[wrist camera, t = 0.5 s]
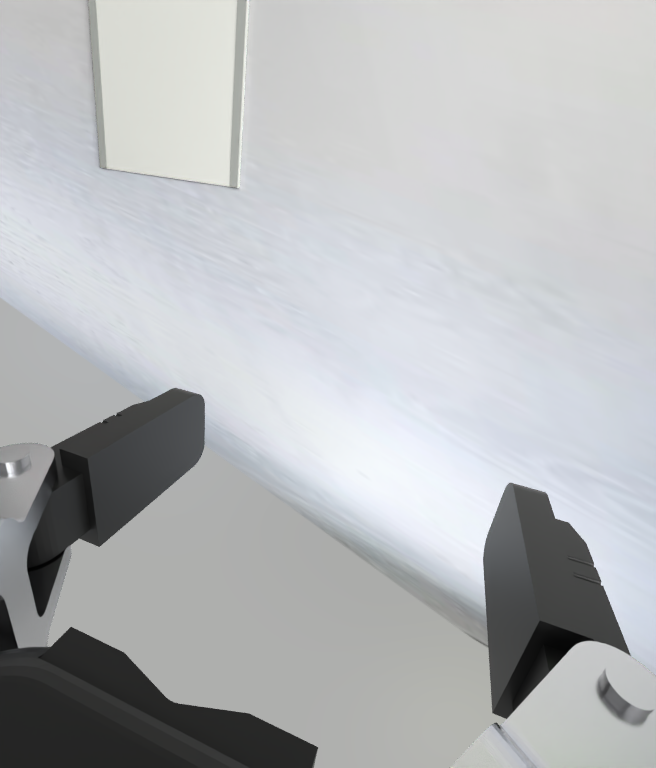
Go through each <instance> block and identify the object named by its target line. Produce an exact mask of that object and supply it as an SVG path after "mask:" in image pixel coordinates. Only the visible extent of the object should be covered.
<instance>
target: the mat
mask: <svg viewBox="0 0 656 768" xmlns="http://www.w3.org/2000/svg"><path fill="white" fill-rule="evenodd" d="M88 7H89V21H90V35H91V49H92V63H93V77H94V91H95V105H96V119H97V133H98V147H99V160H100V168H105V169H112V170H119V171H126V172H132V173H139V174H146V175H153V176H160V177H166V178H173V179H180V180H187V181H193V182H200V183H207V184H214V185H221V186H227V187H234V188H240V172H241V152H242V133H243V114H244V94H245V75H246V56H247V37H248V17H249V0H88Z"/></svg>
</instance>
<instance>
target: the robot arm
mask: <svg viewBox="0 0 656 768" xmlns="http://www.w3.org/2000/svg"><path fill="white" fill-rule="evenodd" d="M204 432H205V403H204V399H203V397H202V396H201V395H199V394H196V393H192V392H189V391H185V390H182V389H178V388H173V389H171V390H169V391H167V392H165V393H163V394H161V395H159V396H158V397H156V398H154V399H152V400H150V401H146V402H143V403H139V404H135V405H132V406H130V407H128V408H126V409H124V410H123V411H121V412H119V413H117V415H116V416H115V415H113V416H111V417H109V418H107V419H105V420H104V421H103V422H102V423H101V422H99V423H97V424H95V425H93V426H92V427H89V428H87V429H86V430H84V431H82V432H80V433H78V434H76V435H74V436H72V437H70V438H68V439H66V440H64V441H62V442H60V443H59V444H57V445H55V446H53V447H51V448H50V447H48V446H46V445H43V444H38V443H20V444H13V445H8V446H3V447H0V768H313V767H314V763H315V758H316V754H317V749H318V747H316V746H314V745H312V744H310V743H308V742H306V741H304V740H302V739H300V738H298V737H296V736H294V735H292V734H290V733H288V732H285V731H284V730H282V729H279V728H277V727H275V726H273V725H271V724H269V723H267V722H265V721H263V720H261V719H259V718H257V717H255V716H253V715H251V714H248V713H241V712H234V711H227V710H219V709H213V708H205V707H197V706H191V705H184V704H178V703H174V702H172V701H170V700H168V699H167V698H166V697H165V696H164V695H163V694H162V693H161V692H160V691H159V690H158V688H157V687H156V686H155V685H154V684H153V683H152V682H151V681H150V680H149V679H148V678H147V677H146V676H145V675H144V674H143V672H142V671H141V670H140V669H139V668H138V667H137V666H136V665H135V664H134V663H133V662H132V661H131V660H130V659H129V657H128V656H127V655H126V654H125V653H124V652H122V651H120V650H117V649H115V648H113V647H111V646H109V645H107V644H105V643H103V642H101V641H99V640H97V639H95V638H93V637H91V636H89V635H87V634H85V633H83V632H81V631H78V630H76V629H74V628H72V627H70V628H69V629H68V631H66V633H64V634H63V636H61V638H59V639H58V640H57V641H56V642H55V643H54V644H53V646H51V647H47V642H48V641H47V640H48V635H49V630H50V626H51V623H52V619H53V616H54V613H55V609H56V606H57V602H58V599H59V596H60V592H61V589H62V585H63V582H64V579H65V576H66V572H67V569H68V565H69V562H70V559H71V546H70V545H71V544H72V543H74V542H75V541H76V540H78V539H79V538H80V539H82V540H84V541H87V542H89V543H92V544H94V545H96V546H99V547H100V546H101V545H102V544H103V543H104V542H106V541H107V540H108V539H109V538H110V537H111V536H113V535H114V534H115V533H116V532H117V531H118V530H120V529H121V528H122V527H123V526H124V525H125V524H126V523H128V522H129V521H130V520H131V519H133V518H134V517H135V516H136V515H137V514H138V513H140V512H141V511H142V510H143V509H144V508H145V507H146V506H148V505H149V504H150V503H151V502H152V501H153V500H155V499H156V498H157V497H158V496H159V495H161V494H162V493H163V492H164V491H165V490H166V489H168V488H169V487H170V486H171V485H172V484H173V483H174V482H176V481H177V480H178V479H179V478H180V477H182V476H183V475H184V474H185V473H186V472H187V471H188V470H190V469H191V468H192V467H193V466H194V465H195V464H196V463H197V462H198V460H199V459H200V457H201V455H202V452H203V449H204ZM483 564H484V581H485V597H486V614H487V630H488V647H489V663H490V680H491V695H492V712H493V713H494V714H496V715H499V716H501V717H503V718H506V721H505V722H504V723H503V724H501V725H500V726H499V725H498V724H497V723H494V724H492V725H491V726H490V727H488V728H487V729H486V730H485V731H484V732H483V733H482V734H481V735H480V736H479V737H478V738H477V739H476V741H474V742H473V744H472V745H471V746H470V747H469V748H468V749H467V750H466V751H465V752H464V753H463V754H462V755H461V756H460V757H459V758H458V760H457V761H456V762H455V763H454V764H453V765H452V766H451V767H450V768H656V676H655V675H654V674H653V673H652V672H651V671H650V670H649V669H647V668H646V667H645V666H644V665H643V664H641V663H640V662H639V661H637V660H636V659H635V658H633V657H631V655H630V653H629V650H628V648H627V645H626V643H625V640H624V637H623V635H622V632H621V630H620V627H619V625H618V622H617V620H616V617H615V615H614V612H613V610H612V607H611V605H610V602H609V600H608V597H607V595H606V592H605V590H604V587H603V586H601V580H600V577H599V575H598V572H597V570H596V568H595V567H594V562H593V560H592V557H591V555H590V552H589V549H588V547H587V544H586V543H585V541H584V540H583V539H582V538H581V537H580V536H579V534H578V533H577V532H576V531H575V530H574V529H573V527H572V526H571V525H570V524H569V523H568V522H564V521H561V520H558V519H555V517H554V514H553V511H552V507H551V504H550V501H549V498H548V495H547V494H546V493H545V492H542V491H538V490H535V489H531V488H528V487H524V486H521V485H517V484H513V483H509V484H508V485H507V486H506V488H505V490H504V493H503V496H502V498H501V501H500V503H499V506H498V509H497V511H496V514H495V517H494V519H493V522H492V524H491V527H490V530H489V532H488V535H487V538H486V543H485V548H484V557H483Z"/></svg>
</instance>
